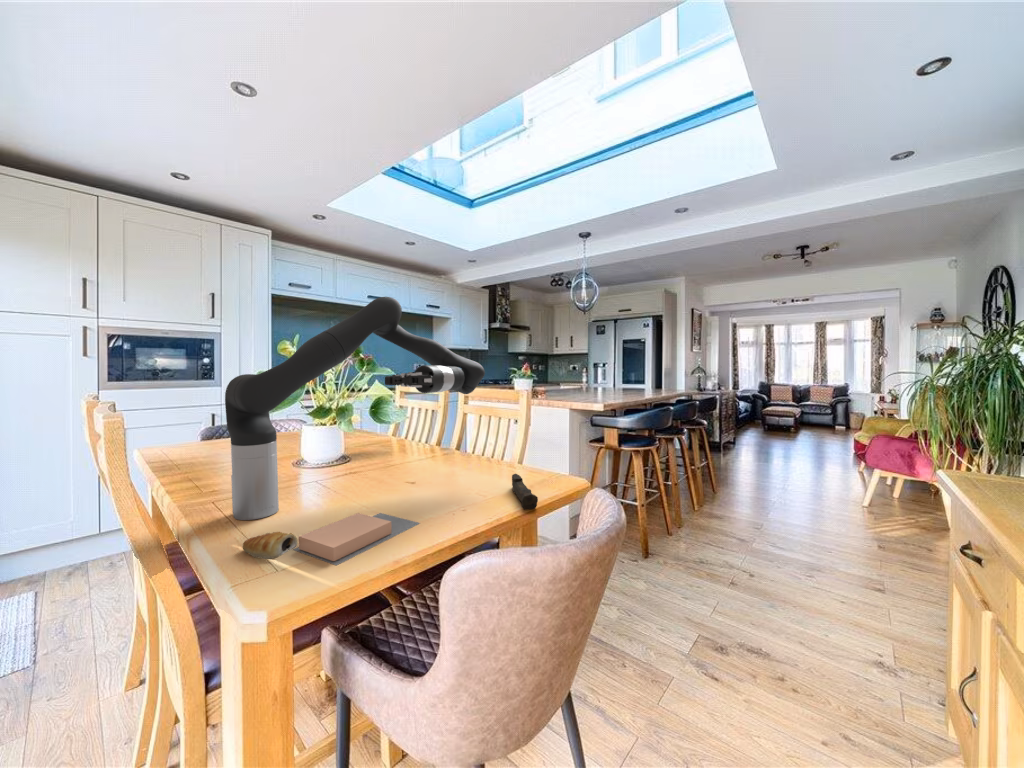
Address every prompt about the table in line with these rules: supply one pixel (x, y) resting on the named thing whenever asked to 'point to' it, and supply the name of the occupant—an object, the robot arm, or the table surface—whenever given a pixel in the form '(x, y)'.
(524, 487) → the hand tool
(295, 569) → the table surface
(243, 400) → the robot arm
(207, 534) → the table surface
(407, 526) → the mat
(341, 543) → the tile
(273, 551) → the pastry
